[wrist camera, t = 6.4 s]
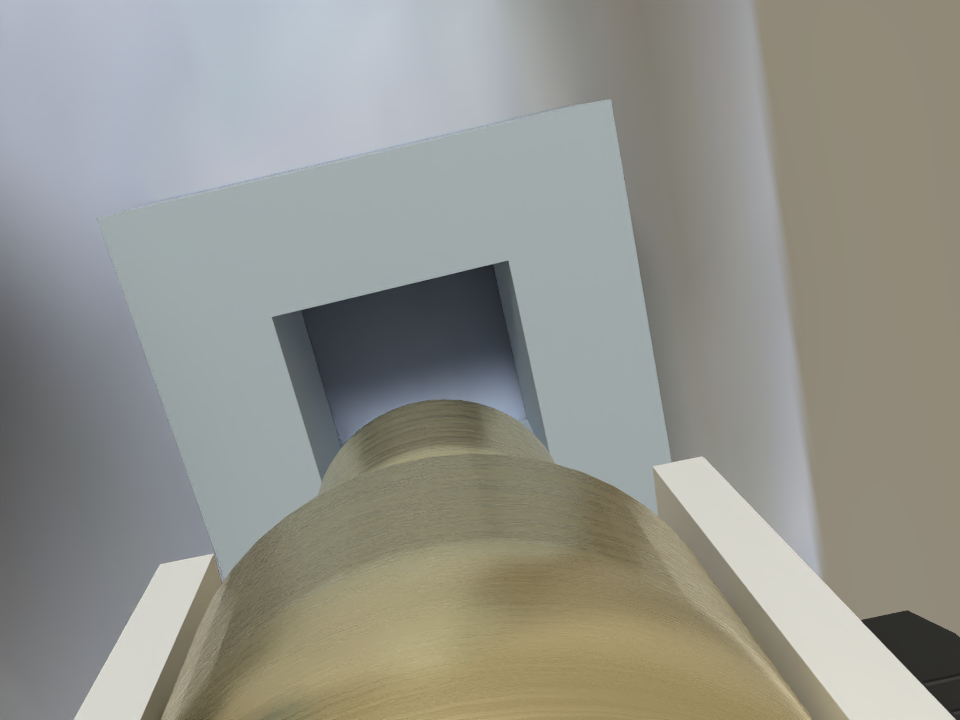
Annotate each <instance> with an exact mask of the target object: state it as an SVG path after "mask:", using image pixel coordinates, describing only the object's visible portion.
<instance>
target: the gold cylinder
mask: <svg viewBox="0 0 960 720" xmlns="http://www.w3.org/2000/svg"><path fill="white" fill-rule="evenodd" d="M161 720H813V719H812V717H811V716H810V715H809V713H808V712H807V710H806V709H805V708H804V706H803V705H802V703H801V702H800V701H799V699H798V698H797V697H796V695H795V694H794V692H793V691H792V690H791V688H790V687H789V685H788V684H787V683H786V681H785V680H784V678H783V677H782V676H781V674H780V673H779V672H778V670H777V669H776V667H775V666H774V665H773V663H772V662H771V660H770V659H769V658H768V656H767V655H766V654H765V652H764V651H763V649H762V648H761V647H760V645H759V644H758V642H757V641H756V640H755V638H754V637H753V635H752V634H751V633H750V631H749V630H748V629H747V627H746V626H745V624H744V623H743V622H742V620H741V619H740V617H739V616H738V615H737V613H736V612H735V610H734V609H733V608H732V606H731V605H730V604H729V602H728V601H727V599H726V598H725V597H724V595H723V594H722V592H721V591H720V590H719V588H718V587H717V586H716V584H715V583H714V581H713V580H712V579H711V577H710V576H709V574H708V573H707V572H706V570H705V569H704V567H703V566H702V565H701V563H700V562H699V561H698V559H697V558H696V556H695V555H694V554H693V552H692V551H691V550H690V549H689V548H688V546H687V545H686V544H685V543H684V542H683V541H682V540H681V538H680V537H679V536H678V535H677V534H676V533H675V532H674V530H673V529H672V528H671V527H670V526H669V525H667V524H666V523H665V522H664V521H663V520H661V519H660V518H659V517H658V516H657V515H656V514H654V513H653V512H652V511H651V510H650V509H649V508H647V507H646V506H645V505H643V504H642V503H640V502H639V501H637V500H635V499H634V498H632V497H631V496H629V495H628V494H626V493H624V492H623V491H621V490H620V489H618V488H616V487H615V486H612V485H610V484H608V483H606V482H604V481H601V480H599V479H597V478H595V477H593V476H590V475H588V474H586V473H584V472H581V471H578V470H574V469H571V468H568V467H564V466H561V465H558V464H555V462H554V460H553V458H552V456H551V455H550V453H549V452H548V450H547V449H546V447H545V446H544V445H543V444H542V442H541V441H540V440H539V439H538V438H537V437H536V436H535V435H534V434H533V433H532V432H531V431H530V430H529V429H527V428H526V427H525V426H524V425H523V424H521V423H520V422H518V421H517V420H515V419H514V418H512V417H510V416H509V415H507V414H505V413H503V412H501V411H498V410H496V409H494V408H491V407H488V406H485V405H482V404H478V403H474V402H468V401H462V400H446V399H442V400H429V401H422V402H418V403H413V404H408V405H405V406H403V407H400V408H397V409H394V410H391V411H389V412H387V413H385V414H383V415H381V416H379V417H377V418H376V419H374V420H373V421H371V422H370V423H368V424H366V425H365V426H363V427H362V428H361V429H360V430H359V431H358V432H356V433H355V434H354V435H353V436H352V437H351V438H350V439H349V440H348V441H347V442H346V443H345V444H344V445H343V447H342V448H341V449H340V450H339V451H338V453H337V454H336V456H335V457H334V459H333V460H332V462H331V463H330V465H329V467H328V469H327V471H326V473H325V475H324V477H323V480H322V483H321V487H320V490H319V493H318V496H316V497H315V498H313V499H312V500H310V501H309V502H307V503H306V504H304V505H303V506H301V507H299V508H298V509H296V510H295V511H293V512H292V513H290V514H289V515H287V516H286V517H285V518H283V519H282V520H281V521H280V522H279V523H278V524H276V525H275V526H274V527H273V528H272V529H271V530H269V531H268V532H267V533H266V534H265V535H263V536H262V537H261V538H260V539H259V540H258V541H257V542H256V543H255V544H254V545H253V546H252V547H251V548H250V549H249V551H248V552H247V553H246V554H245V555H244V556H243V557H242V558H241V559H240V561H239V562H238V563H237V564H236V565H235V566H234V567H233V568H232V570H231V571H230V573H229V574H228V576H227V577H226V579H225V580H224V582H223V583H222V585H221V586H220V588H219V589H218V591H217V592H216V594H215V595H214V597H213V598H212V600H211V602H210V604H209V606H208V608H207V611H206V613H205V615H204V617H203V619H202V621H201V623H200V625H199V627H198V629H197V632H196V634H195V637H194V639H193V642H192V644H191V646H190V649H189V651H188V654H187V656H186V659H185V661H184V664H183V666H182V669H181V671H180V674H179V676H178V679H177V681H176V684H175V686H174V689H173V691H172V694H171V696H170V698H169V701H168V703H167V706H166V708H165V711H164V713H163V716H162V718H161Z"/></svg>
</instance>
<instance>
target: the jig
mask: <svg viewBox="0 0 960 720" xmlns="http://www.w3.org/2000/svg"><path fill="white" fill-rule="evenodd" d="M97 220H98V223H99V226H100V229H101V232H102V234H103V237H104V240H105V243H106V246H107V249H108V251H109V254H110V257H111V260H112V263H113V266H114V268H115V271H116V274H117V277H118V280H119V282H120V285H121V288H122V291H123V294H124V297H125V299H126V302H127V305H128V308H129V311H130V314H131V316H132V319H133V322H134V325H135V328H136V330H137V333H138V336H139V339H140V342H141V345H142V347H143V350H144V353H145V356H146V359H147V362H148V364H149V367H150V370H151V373H152V376H153V378H154V381H155V384H156V387H157V390H158V393H159V395H160V398H161V401H162V404H163V407H164V410H165V412H166V415H167V418H168V421H169V424H170V427H171V429H172V432H173V435H174V438H175V441H176V443H177V446H178V449H179V452H180V455H181V458H182V460H183V463H184V466H185V469H186V472H187V475H188V477H189V480H190V483H191V486H192V489H193V491H194V494H195V497H196V500H197V503H198V506H199V508H200V511H201V514H202V517H203V520H204V523H205V525H206V528H207V531H208V534H209V537H210V539H211V542H212V545H213V548H214V551H215V554H216V556H217V559H218V562H219V565H220V568H221V571H222V573H223V576H224V579H226V577H227V576H228V574H229V573H230V571H231V570H232V568H233V567H234V566H235V565H236V564H237V563H238V562H239V561H240V559H241V558H242V557H243V556H244V555H245V554H246V553H247V552H248V551H249V549H250V548H251V547H252V546H253V545H254V544H255V543H256V542H257V541H258V540H259V539H260V538H261V537H262V536H263V535H265V534H266V533H267V532H268V531H269V530H271V529H272V528H273V527H274V526H275V525H276V524H278V523H279V522H280V521H281V520H282V519H283V518H285V517H286V516H287V515H289V514H290V513H292V512H293V511H295V510H296V509H298V508H299V507H301V506H303V505H304V504H306V503H307V502H309V501H310V500H312V499H313V498H315V497H316V496H318V493H319V490H320V487H321V483H322V480H323V477H324V475H325V473H326V471H327V469H328V467H329V465H330V463H331V462H332V460H333V459H334V457H335V456H336V454H337V453H338V451H339V450H340V449H341V445H340V442H339V438H338V435H337V431H336V428H335V425H334V421H333V418H332V414H331V411H330V407H329V404H328V401H327V397H326V394H325V390H324V387H323V384H322V380H321V377H320V373H319V370H318V366H317V363H316V360H315V356H314V353H313V349H312V346H311V342H310V339H309V336H308V332H307V329H306V325H305V322H304V318H303V315H302V312H301V310H303V309H307V308H312V307H316V306H320V305H324V304H328V303H333V302H337V301H341V300H345V299H349V298H353V297H358V296H362V295H366V294H370V293H374V292H378V291H383V290H387V289H391V288H395V287H399V286H404V285H408V284H412V283H416V282H420V281H424V280H429V279H433V278H437V277H441V276H445V275H449V274H454V273H458V272H462V271H466V270H470V269H475V268H479V267H483V266H487V265H491V264H493V266H494V271H495V275H496V280H497V284H498V289H499V293H500V298H501V302H502V307H503V312H504V316H505V321H506V325H507V330H508V334H509V339H510V344H511V348H512V353H513V357H514V362H515V366H516V371H517V375H518V380H519V385H520V389H521V394H522V398H523V403H524V407H525V412H526V417H527V419H525V420H521V421H518V422H520V423H521V424H523V425H524V426H525V427H526V428H527V429H529V430H530V431H531V432H532V433H533V434H534V435H535V436H536V437H537V438H538V439H539V440H540V441H541V442H542V444H543V445H544V446H545V447H546V449H547V450H548V452H549V453H550V455H551V456H552V458H553V460H554V462H555V464H558V465H561V466H564V467H568V468H571V469H574V470H578V471H581V472H584V473H586V474H588V475H590V476H593V477H595V478H597V479H599V480H601V481H604V482H606V483H608V484H610V485H612V486H615V487H616V488H618V489H620V490H621V491H623V492H624V493H626V494H628V495H629V496H631V497H632V498H634V499H635V500H637V501H639V502H640V503H642V504H643V505H645V506H646V507H647V508H649V509H650V510H651V511H652V512H653V513H654V514H656V515H657V516H658V510H657V501H656V493H655V484H654V476H653V468H652V466H657V465H662V464H667V463H672V462H671V456H670V450H669V444H668V438H667V432H666V426H665V420H664V414H663V408H662V402H661V396H660V390H659V384H658V378H657V372H656V366H655V360H654V354H653V348H652V342H651V336H650V330H649V325H648V319H647V313H646V307H645V301H644V295H643V289H642V283H641V277H640V271H639V265H638V259H637V253H636V247H635V241H634V235H633V229H632V223H631V217H630V211H629V205H628V199H627V193H626V187H625V181H624V175H623V169H622V163H621V157H620V151H619V146H618V140H617V134H616V128H615V122H614V116H613V110H612V104H611V99H609V100H603V101H597V102H591V103H585V104H579V105H573V106H568V107H564V108H559V109H555V110H551V111H546V112H542V113H538V114H533V115H529V116H525V117H520V118H516V119H512V120H508V121H503V122H499V123H495V124H490V125H486V126H482V127H477V128H473V129H469V130H464V131H460V132H456V133H452V134H447V135H443V136H439V137H434V138H430V139H426V140H421V141H417V142H413V143H409V144H404V145H400V146H396V147H391V148H387V149H383V150H378V151H374V152H370V153H365V154H361V155H357V156H353V157H348V158H344V159H340V160H335V161H331V162H327V163H322V164H318V165H314V166H310V167H305V168H301V169H297V170H292V171H288V172H284V173H279V174H275V175H271V176H266V177H262V178H258V179H254V180H249V181H245V182H241V183H236V184H232V185H228V186H223V187H219V188H215V189H211V190H206V191H202V192H198V193H193V194H189V195H185V196H180V197H176V198H172V199H167V200H163V201H159V202H155V203H151V204H147V205H144V206H140V207H136V208H133V209H129V210H126V211H122V212H119V213H115V214H112V215H108V216H105V217H101V218H97Z"/></svg>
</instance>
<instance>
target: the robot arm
mask: <svg viewBox="0 0 960 720" xmlns="http://www.w3.org/2000/svg"><path fill="white" fill-rule="evenodd" d="M652 468H653V476H654V484H655V493H656V501H657V510H658V517H659V518H660V519H661V520H663V521H664V522H665V523H666V524H667V525H669V526H670V527H671V528H672V529H673V530H674V532H675V533H676V534H677V535H678V536H679V537H680V538H681V540H682V541H683V542H684V543H685V544H686V545H687V546H688V548H689V549H690V550H691V551H692V552H693V554H694V555H695V556H696V558H697V559H698V561H699V562H700V563H701V565H702V566H703V567H704V569H705V570H706V572H707V573H708V574H709V576H710V577H711V579H712V580H713V581H714V583H715V584H716V586H717V587H718V588H719V590H720V591H721V592H722V594H723V595H724V597H725V598H726V599H727V601H728V602H729V604H730V605H731V606H732V608H733V609H734V610H735V612H736V613H737V615H738V616H739V617H740V619H741V620H742V622H743V623H744V624H745V626H746V627H747V629H748V630H749V631H750V633H751V634H752V635H753V637H754V638H755V640H756V641H757V642H758V644H759V645H760V647H761V648H762V649H763V651H764V652H765V654H766V655H767V656H768V658H769V659H770V660H771V662H772V663H773V665H774V666H775V667H776V669H777V670H778V672H779V673H780V674H781V676H782V677H783V678H784V680H785V681H786V683H787V684H788V685H789V687H790V688H791V690H792V691H793V692H794V694H795V695H796V697H797V698H798V699H799V701H800V702H801V703H802V705H803V706H804V708H805V709H806V710H807V712H808V713H809V715H810V716H811V717H812V719H813V720H960V637H959V636H958V635H956V634H955V633H953V632H951V631H949V630H947V629H945V628H943V627H941V626H939V625H936V624H934V623H932V622H930V621H928V620H926V619H924V618H922V617H920V616H918V615H916V614H914V613H911V612H910V611H902V612H898V613H892V614H888V615H883V616H878V617H874V618H869V619H864V620H860V619H859V618H858V617H857V616H856V615H855V614H854V613H853V612H852V611H851V610H850V609H849V608H848V607H847V606H846V605H845V604H844V603H843V602H842V601H841V600H840V599H839V598H838V597H837V596H836V594H834V592H832V590H831V589H830V588H829V587H828V586H827V585H826V584H825V583H824V582H823V581H822V580H821V579H820V578H819V577H818V576H817V575H816V574H815V573H814V572H813V571H812V569H811V568H810V567H809V566H808V565H807V564H806V563H805V562H804V561H803V560H802V559H801V558H800V557H799V556H798V555H797V554H796V553H795V552H794V551H793V550H792V549H791V548H790V547H789V546H788V545H787V544H786V542H785V541H784V540H783V539H782V538H781V537H780V536H779V535H778V534H777V533H776V532H775V531H774V530H773V529H772V528H771V527H770V526H769V525H768V524H767V523H766V522H765V521H764V520H763V519H762V518H761V516H760V515H759V514H758V513H757V512H756V511H755V510H754V509H753V508H752V507H751V506H750V505H749V504H748V503H747V502H746V501H745V500H744V499H743V498H742V497H741V496H740V495H739V494H738V493H737V492H736V490H735V489H734V488H733V487H732V486H731V485H730V484H729V483H728V482H727V481H726V480H725V479H724V478H723V477H722V476H721V475H720V474H719V473H718V472H717V471H716V470H715V469H714V468H713V467H712V466H711V464H710V463H709V462H708V461H707V460H706V459H705V458H704V457H703V456H702V457H697V458H692V459H687V460H682V461H677V462H672V463H667V464H662V465H657V466H652ZM221 585H222V581H221V577H220V574H219V570H218V567H217V563H216V560H215V557H214V554H209V555H204V556H199V557H194V558H189V559H184V560H179V561H174V562H168V563H163V564H160V565H159V567H158V569H157V571H156V572H155V574H154V576H153V578H152V580H151V581H150V583H149V585H148V587H147V589H146V590H145V592H144V594H143V596H142V598H141V599H140V601H139V603H138V605H137V607H136V608H135V610H134V612H133V614H132V616H131V617H130V619H129V621H128V623H127V625H126V626H125V628H124V630H123V632H122V634H121V635H120V637H119V639H118V641H117V643H116V644H115V646H114V648H113V650H112V652H111V653H110V655H109V657H108V659H107V661H106V662H105V664H104V666H103V668H102V670H101V671H100V673H99V675H98V677H97V679H96V680H95V682H94V684H93V686H92V688H91V689H90V691H89V693H88V695H87V697H86V698H85V700H84V702H83V704H82V705H81V707H80V709H79V711H78V713H77V714H76V716H75V718H74V720H161V718H162V716H163V713H164V711H165V708H166V706H167V703H168V701H169V698H170V696H171V694H172V691H173V689H174V686H175V684H176V681H177V679H178V676H179V674H180V671H181V669H182V666H183V664H184V661H185V659H186V656H187V654H188V651H189V649H190V646H191V644H192V642H193V639H194V637H195V634H196V632H197V629H198V627H199V625H200V623H201V621H202V619H203V617H204V615H205V613H206V611H207V608H208V606H209V604H210V602H211V600H212V598H213V597H214V595H215V594H216V592H217V591H218V589H219V588H220V586H221Z"/></svg>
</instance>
